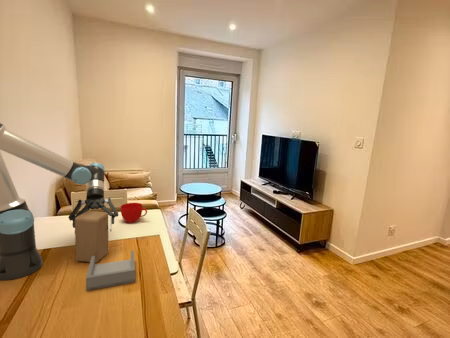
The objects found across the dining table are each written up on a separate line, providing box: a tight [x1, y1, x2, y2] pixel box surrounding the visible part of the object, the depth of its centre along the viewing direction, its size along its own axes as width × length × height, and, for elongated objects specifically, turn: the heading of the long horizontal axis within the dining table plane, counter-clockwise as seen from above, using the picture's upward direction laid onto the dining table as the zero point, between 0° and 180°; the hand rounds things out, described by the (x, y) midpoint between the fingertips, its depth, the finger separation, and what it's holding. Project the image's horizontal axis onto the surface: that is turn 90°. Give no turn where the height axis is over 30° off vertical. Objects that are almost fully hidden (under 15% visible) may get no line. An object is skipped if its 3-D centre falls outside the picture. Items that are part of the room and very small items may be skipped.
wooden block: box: [74, 210, 109, 263], centre depth 111 cm, size 10×10×20 cm
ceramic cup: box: [119, 202, 148, 224], centre depth 157 cm, size 13×17×10 cm
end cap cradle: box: [85, 250, 136, 292], centre depth 99 cm, size 16×16×5 cm
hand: (93, 232), depth 111 cm, fingers open, 13 cm apart
